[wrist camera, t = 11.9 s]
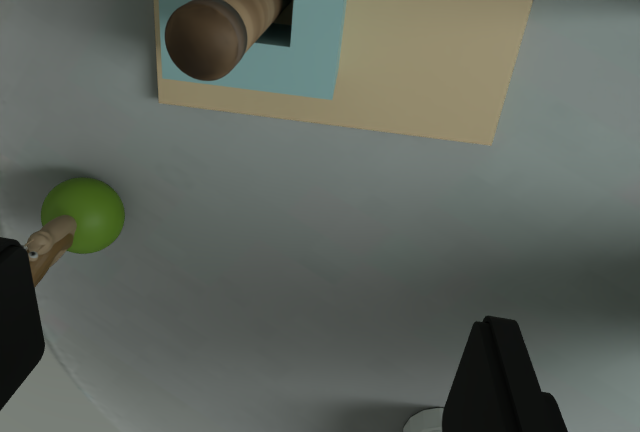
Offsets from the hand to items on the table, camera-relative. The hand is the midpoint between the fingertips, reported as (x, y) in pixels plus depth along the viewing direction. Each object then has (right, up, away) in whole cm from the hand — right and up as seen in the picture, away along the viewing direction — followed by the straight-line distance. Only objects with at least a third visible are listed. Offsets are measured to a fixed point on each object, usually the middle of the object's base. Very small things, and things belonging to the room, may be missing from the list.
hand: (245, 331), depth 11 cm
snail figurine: (-15, +4, +29) cm, 32 cm away
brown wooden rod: (-1, +16, +19) cm, 25 cm away
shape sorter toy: (+3, +15, +21) cm, 26 cm away
